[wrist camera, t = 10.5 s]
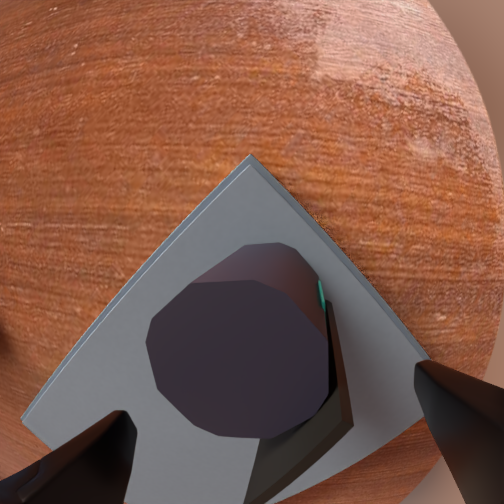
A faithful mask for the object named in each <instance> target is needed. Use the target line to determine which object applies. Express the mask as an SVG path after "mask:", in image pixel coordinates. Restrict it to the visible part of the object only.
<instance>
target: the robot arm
mask: <svg viewBox="0 0 504 504" xmlns="http://www.w3.org/2000/svg"><path fill="white" fill-rule="evenodd" d="M414 390H415V393H416V395H417V398H418V401H419V403H420V406H421V408H422V411H423V414H424V416H425V419H426V422H427V424H428V427H429V429H430V431H431V434H432V436H433V437H434V439H435V441H436V443H437V445H438V447H439V449H440V451H441V453H442V455H443V457H444V459H445V461H446V463H447V465H448V467H449V469H450V471H451V473H452V475H453V477H454V480H455V482H456V484H457V486H458V488H459V490H460V492H461V494H462V497H463V499H464V501H465V503H466V504H504V389H503V388H500V387H498V386H495V385H492V384H490V383H487V382H484V381H482V380H479V379H477V378H474V377H472V376H469V375H467V374H464V373H462V372H459V371H457V370H454V369H452V368H449V367H447V366H444V365H442V364H439V363H437V362H434V361H432V360H429V359H426V360H423V361H420V362H417V363H416V364H415V368H414ZM137 435H138V431H137V428H136V426H135V424H134V422H133V421H132V419H131V417H130V415H129V413H128V412H127V411H125V410H114V411H112V412H111V413H110V414H108V415H107V416H105V417H104V418H102V419H101V420H99V421H98V422H96V423H95V424H93V425H92V426H90V427H89V428H87V429H86V430H84V431H83V432H81V433H80V434H78V435H77V436H75V437H74V438H72V439H71V440H69V441H68V442H66V443H65V444H63V445H62V446H60V447H58V448H57V449H55V450H54V451H52V452H51V453H49V454H47V455H46V456H44V457H43V458H41V460H38V461H36V462H35V463H33V464H31V465H30V466H28V467H26V468H25V469H23V470H21V471H19V472H17V473H15V474H13V475H12V476H10V477H8V478H5V479H3V480H1V481H0V504H123V503H124V499H125V495H126V492H127V488H128V484H129V480H130V476H131V472H132V467H133V461H134V454H135V448H136V441H137Z"/></svg>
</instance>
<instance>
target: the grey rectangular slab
mask: <svg viewBox="0 0 504 504" xmlns="http://www.w3.org/2000/svg"><path fill="white" fill-rule="evenodd" d="M276 242H280V243H282V244H285V245H287V246H290V247H292V248H295V249H296V250H297V251H298V252H299V253H300V254H301V256H302V257H303V258H304V259H305V260H306V261H307V263H308V264H309V265H310V266H311V267H312V268H313V270H314V271H315V272H316V273H317V274H318V275H319V281H321V286H322V291H323V296H324V301H325V299H326V300H328V301H330V302H331V303H332V306H333V311H334V315H335V320H336V325H337V330H338V335H339V340H340V345H341V350H342V356H343V361H344V367H345V372H346V378H347V384H348V390H349V396H350V402H351V408H352V414H353V421H354V427H353V428H352V429H351V430H350V431H349V432H348V433H347V434H346V435H345V436H344V437H343V438H342V439H341V440H340V441H338V442H337V443H336V444H335V445H334V446H333V447H332V448H331V449H330V450H329V451H328V452H327V453H326V454H325V455H324V456H322V457H321V458H320V459H319V460H318V461H317V462H316V463H315V464H314V465H312V466H311V467H310V468H309V469H308V470H307V471H305V472H304V473H303V474H302V475H301V476H300V477H298V478H297V479H296V480H295V481H293V482H292V483H291V484H290V485H289V486H287V487H286V488H285V489H283V490H282V491H281V492H280V493H278V494H277V495H276V496H274V497H273V498H272V499H270V500H269V501H268V502H266V503H265V504H274V503H277V502H279V501H282V500H284V499H286V498H288V497H291V496H293V495H295V494H297V493H299V492H302V491H304V490H306V489H308V488H310V487H312V486H314V485H316V484H318V483H320V482H322V481H324V480H326V479H328V478H330V477H331V476H333V475H335V474H337V473H339V472H341V471H342V470H344V469H346V468H348V467H349V466H351V465H353V464H355V463H356V462H358V461H360V460H361V459H363V458H365V457H366V456H368V455H369V454H371V453H373V452H374V451H376V450H377V449H379V448H380V447H382V446H383V445H385V444H386V443H388V442H389V441H391V440H392V439H394V438H395V437H397V436H398V435H400V434H401V433H402V432H404V431H405V430H407V429H408V428H409V427H411V426H412V425H413V424H415V423H416V422H417V421H419V420H420V419H421V418H423V417H424V414H423V411H422V408H421V406H420V403H419V401H418V398H417V395H416V393H415V390H414V368H415V364H416V363H417V362H420V361H423V360H426V359H429V360H431V359H430V357H429V356H428V355H427V353H426V352H425V351H424V349H423V348H422V347H421V346H420V344H419V343H418V342H417V340H416V339H415V338H414V337H413V335H412V334H411V333H410V331H409V330H408V329H407V328H406V326H405V325H404V324H403V323H402V321H401V320H400V319H399V318H398V316H397V315H396V314H395V313H394V311H393V310H392V309H391V308H390V306H389V305H388V304H387V303H386V302H385V300H384V299H383V298H382V297H381V296H380V294H379V293H378V292H377V291H376V290H375V288H374V287H373V286H372V285H371V284H370V282H369V281H368V280H367V279H366V278H365V277H364V275H363V274H362V273H361V272H360V271H359V269H358V268H357V267H356V266H355V265H354V264H353V263H352V261H351V260H350V259H349V258H348V257H347V256H346V254H345V253H344V252H343V251H342V250H341V249H340V248H339V247H338V245H337V244H336V243H335V242H334V241H333V240H332V239H331V238H330V236H329V235H328V234H327V233H326V232H325V231H324V230H323V229H322V228H321V226H320V225H319V224H318V223H317V222H316V221H315V220H314V219H313V218H312V217H311V216H310V214H309V213H308V212H307V211H306V210H305V209H304V208H303V207H302V206H301V205H300V204H299V203H298V202H297V201H296V199H295V198H294V197H293V196H292V195H291V194H290V193H289V192H288V191H287V190H286V189H285V188H284V187H283V186H282V185H281V184H280V183H279V182H278V181H277V180H276V179H275V177H274V176H273V175H272V174H271V173H270V172H269V171H268V170H267V169H266V168H265V167H264V166H263V165H262V164H261V163H260V162H259V161H258V160H257V159H256V158H255V157H254V156H253V155H252V154H250V155H248V156H247V157H246V158H245V159H244V160H243V161H242V162H241V163H240V164H239V165H238V166H237V167H236V168H235V169H234V170H233V171H232V172H231V173H230V174H229V175H228V176H227V177H226V178H225V179H224V180H223V181H222V182H221V183H220V184H219V185H218V186H217V187H216V188H215V189H214V190H213V191H212V192H211V193H210V194H209V195H208V196H207V197H206V198H205V199H204V200H203V201H202V202H201V203H200V204H199V205H198V206H197V207H196V208H195V209H194V210H193V211H192V212H191V213H190V214H189V215H188V216H187V218H186V219H185V220H184V221H183V222H182V223H181V224H180V225H179V226H178V227H177V228H176V229H175V230H174V231H173V232H172V233H171V234H170V236H169V237H168V238H167V239H166V240H165V241H164V242H163V243H162V244H161V245H160V246H159V247H158V249H157V250H156V251H155V252H154V253H153V254H152V255H151V256H150V257H149V258H148V260H147V261H146V262H145V263H144V264H143V265H142V266H141V267H140V268H139V270H138V271H137V272H136V273H135V274H134V275H133V276H132V278H131V279H130V280H129V281H128V282H127V283H126V284H125V286H124V287H123V288H122V289H121V290H120V291H119V292H118V294H117V295H116V296H115V297H114V298H113V299H112V301H111V302H110V303H109V304H108V305H107V307H106V308H105V309H104V310H103V311H102V313H101V314H100V315H99V316H98V317H97V319H96V320H95V321H94V322H93V323H92V325H91V326H90V327H89V328H88V330H87V331H86V332H85V333H84V334H83V336H82V337H81V338H80V339H79V341H78V342H77V343H76V344H75V346H74V347H73V348H72V350H71V351H70V352H69V353H68V355H67V356H66V357H65V359H64V360H63V361H62V362H61V364H60V365H59V366H58V368H57V369H56V370H55V372H54V373H53V374H52V376H51V377H50V378H49V380H48V381H47V382H46V384H45V385H44V386H43V388H42V389H41V390H40V392H39V393H38V394H37V396H36V397H35V399H34V400H33V401H32V403H31V404H30V406H29V407H28V408H27V410H26V411H25V413H24V414H23V416H22V417H21V418H20V419H21V420H22V421H23V422H22V423H23V424H24V425H25V426H26V427H27V428H28V429H29V430H30V431H31V432H32V433H33V434H35V435H36V436H37V437H38V438H39V439H40V440H41V441H42V442H43V443H45V444H46V445H47V446H48V447H49V448H50V449H52V450H53V451H54V450H55V449H57V448H58V447H60V446H62V445H63V444H65V443H66V442H68V441H69V440H71V439H72V438H74V437H75V436H77V435H78V434H80V433H81V432H83V431H84V430H86V429H87V428H89V427H90V426H92V425H93V424H95V423H96V422H98V421H99V420H101V419H102V418H104V417H105V416H107V415H108V414H110V413H111V412H112V411H114V410H125V411H127V412H128V413H129V415H130V417H131V419H132V421H133V422H134V424H135V426H136V428H137V431H138V435H137V441H136V448H135V454H134V461H133V467H132V472H131V476H130V480H129V484H128V488H127V492H126V495H125V499H124V502H126V503H128V504H243V503H244V499H245V495H246V492H247V488H248V484H249V480H250V476H251V473H252V469H253V465H254V461H255V457H256V453H257V449H258V445H259V441H260V439H255V438H236V437H222V436H217V435H214V434H212V433H210V432H207V431H205V430H203V429H201V428H198V427H196V426H194V425H193V424H192V423H191V422H190V421H189V420H188V419H186V418H185V417H184V416H183V415H182V414H181V413H180V412H179V411H178V410H177V409H176V408H175V407H174V406H173V405H172V404H171V403H170V402H169V401H168V400H167V399H166V398H165V397H164V396H163V395H162V394H161V393H160V392H159V391H158V390H157V387H156V383H155V380H154V376H153V372H152V368H151V364H150V360H149V356H148V352H147V347H146V343H145V341H146V337H147V334H148V330H149V326H150V322H151V319H152V318H153V317H154V316H155V315H156V314H157V313H158V312H159V311H160V310H161V309H162V308H163V307H165V306H166V305H167V304H168V303H169V302H170V301H171V300H172V299H173V298H174V297H175V296H176V295H178V294H179V293H180V292H181V291H182V290H183V289H184V288H185V287H186V286H187V285H188V284H190V283H191V282H192V281H194V280H195V279H197V278H198V277H199V276H201V275H202V274H204V273H205V272H207V271H208V270H209V269H211V268H212V267H214V266H215V265H217V264H218V263H219V262H221V261H222V260H224V259H225V258H227V257H228V256H229V255H231V254H232V253H234V252H235V251H237V250H238V249H240V248H241V247H242V246H244V245H251V244H264V243H276Z"/></svg>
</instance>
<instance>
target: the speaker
mask: <svg viewBox="0 0 504 504" xmlns="http://www.w3.org/2000/svg"><path fill="white" fill-rule="evenodd" d="M145 343H146V347H147V352H148V356H149V360H150V364H151V368H152V372H153V376H154V380H155V383H156V387H157V390H158V391H159V392H160V393H161V394H162V395H163V396H164V397H165V398H166V399H167V400H168V401H169V402H170V403H171V404H172V405H173V406H174V407H175V408H176V409H177V410H178V411H179V412H180V413H181V414H182V415H183V416H184V417H185V418H186V419H188V420H189V421H190V422H191V423H192V424H193V425H194V426H196V427H198V428H201V429H203V430H205V431H207V432H210V433H212V434H214V435H217V436H222V437H236V438H255V439H260V441H259V445H258V449H257V453H256V457H255V461H254V465H253V469H252V473H251V476H250V480H249V484H248V488H247V492H246V495H245V499H244V503H243V504H265V503H266V502H268V501H269V500H270V499H272V498H273V497H274V496H276V495H277V494H278V493H280V492H281V491H282V490H283V489H285V488H286V487H287V486H289V485H290V484H291V483H292V482H293V481H295V480H296V479H297V478H298V477H300V476H301V475H302V474H303V473H304V472H305V471H307V470H308V469H309V468H310V467H311V466H312V465H314V464H315V463H316V462H317V461H318V460H319V459H320V458H321V457H322V456H324V455H325V454H326V453H327V452H328V451H329V450H330V449H331V448H332V447H333V446H334V445H335V444H336V443H337V442H338V441H340V440H341V439H342V438H343V437H344V436H345V435H346V434H347V433H348V432H349V431H350V430H351V429H352V428H353V427H354V421H353V414H352V408H351V402H350V396H349V390H348V384H347V378H346V372H345V367H344V361H343V356H342V350H341V345H340V340H339V335H338V330H337V325H336V320H335V315H334V311H333V306H332V303H331V302H330V301H328V300H326V299H325V301H324V296H323V291H322V286H321V281H319V275H318V274H317V273H316V272H315V271H314V270H313V268H312V267H311V266H310V265H309V264H308V263H307V261H306V260H305V259H304V258H303V257H302V256H301V254H300V253H299V252H298V251H297V250H296V249H295V248H292V247H290V246H287V245H285V244H282V243H280V242H276V243H264V244H251V245H244V246H242V247H241V248H240V249H238V250H237V251H235V252H234V253H232V254H231V255H229V256H228V257H227V258H225V259H224V260H222V261H221V262H219V263H218V264H217V265H215V266H214V267H212V268H211V269H209V270H208V271H207V272H205V273H204V274H202V275H201V276H199V277H198V278H197V279H195V280H194V281H192V282H191V283H190V284H188V285H187V286H186V287H185V288H184V289H183V290H182V291H181V292H180V293H179V294H178V295H176V296H175V297H174V298H173V299H172V300H171V301H170V302H169V303H168V304H167V305H166V306H165V307H163V308H162V309H161V310H160V311H159V312H158V313H157V314H156V315H155V316H154V317H153V318H152V319H151V322H150V326H149V330H148V334H147V337H146V341H145Z"/></svg>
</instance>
